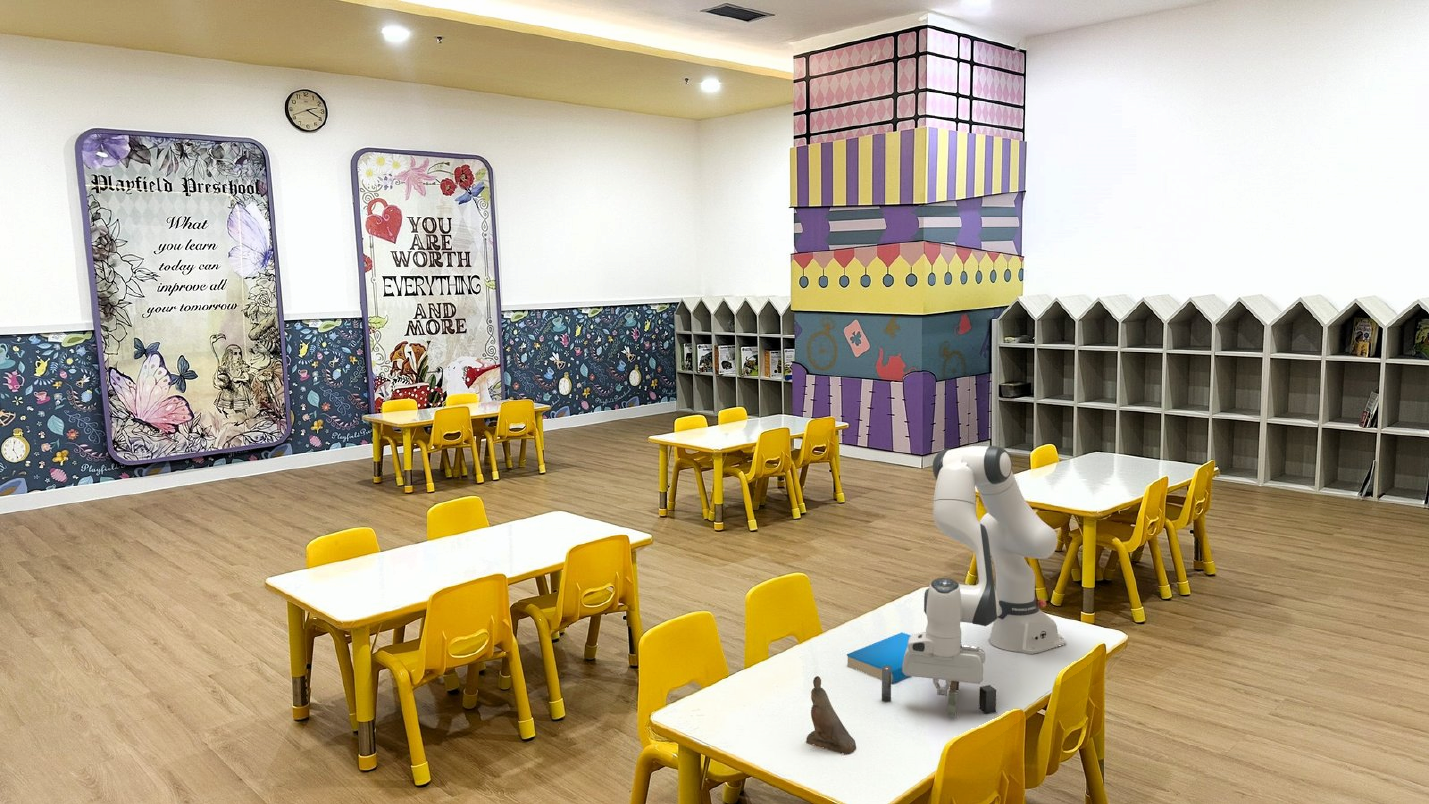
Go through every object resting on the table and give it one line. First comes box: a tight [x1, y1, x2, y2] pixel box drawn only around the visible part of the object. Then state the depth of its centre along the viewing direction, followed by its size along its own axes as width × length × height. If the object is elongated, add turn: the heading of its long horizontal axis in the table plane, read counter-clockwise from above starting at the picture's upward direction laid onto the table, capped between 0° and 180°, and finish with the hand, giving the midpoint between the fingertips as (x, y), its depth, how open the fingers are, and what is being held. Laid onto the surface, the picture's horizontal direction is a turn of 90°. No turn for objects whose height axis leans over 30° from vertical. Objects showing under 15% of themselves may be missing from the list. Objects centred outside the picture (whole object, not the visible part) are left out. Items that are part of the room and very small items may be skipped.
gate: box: [947, 681, 957, 717], centre depth 250 cm, size 17×2×6 cm, turn 164°
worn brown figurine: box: [805, 675, 857, 755], centre depth 230 cm, size 12×6×18 cm, turn 52°
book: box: [846, 632, 912, 685], centre depth 277 cm, size 17×4×25 cm
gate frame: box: [881, 666, 998, 715], centre depth 250 cm, size 24×17×9 cm
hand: (942, 694), depth 248 cm, fingers closed
